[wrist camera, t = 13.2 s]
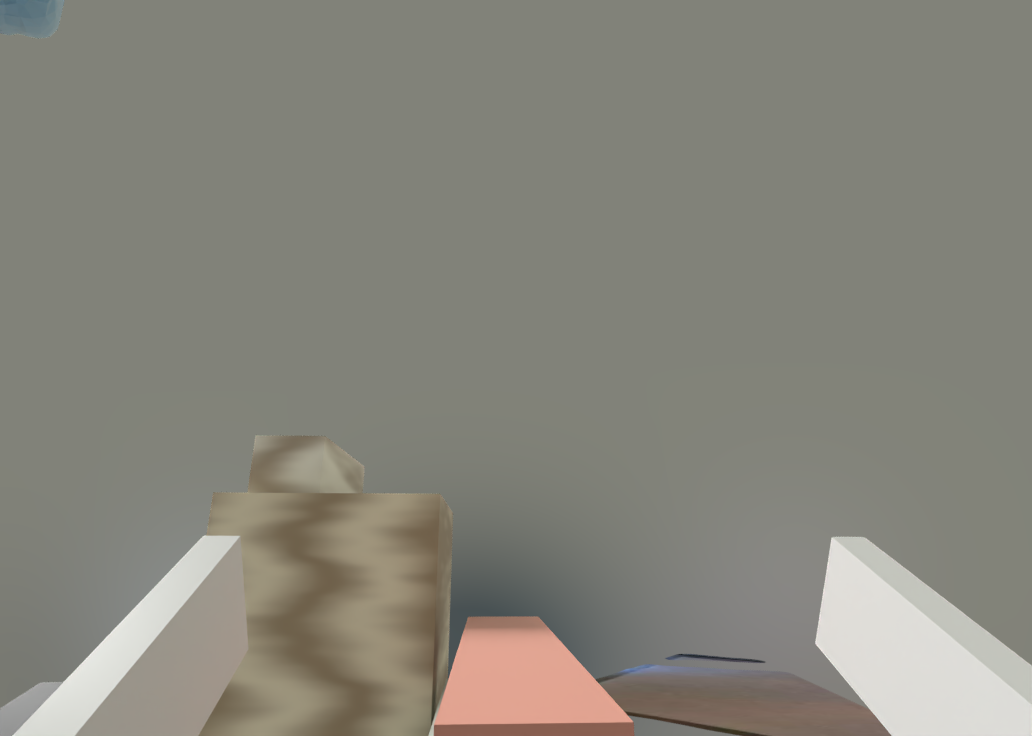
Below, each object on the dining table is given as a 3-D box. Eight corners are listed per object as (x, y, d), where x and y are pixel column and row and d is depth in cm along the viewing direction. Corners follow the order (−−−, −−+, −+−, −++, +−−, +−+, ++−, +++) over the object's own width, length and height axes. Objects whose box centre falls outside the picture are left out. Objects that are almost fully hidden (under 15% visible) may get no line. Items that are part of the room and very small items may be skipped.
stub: (427, 911, 11) (434, 724, 12) (466, 675, 33) (468, 616, 33) (643, 906, 11) (633, 722, 12) (538, 674, 33) (538, 616, 34)
